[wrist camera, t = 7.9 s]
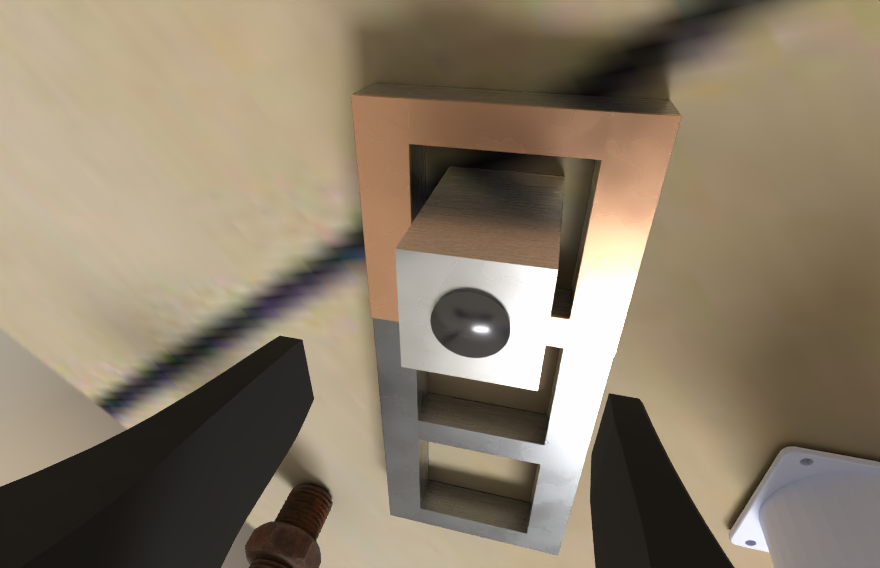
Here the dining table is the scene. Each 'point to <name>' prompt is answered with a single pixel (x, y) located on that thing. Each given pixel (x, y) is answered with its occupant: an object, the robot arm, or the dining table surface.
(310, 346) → the dining table surface
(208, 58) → the dining table surface
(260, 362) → the robot arm
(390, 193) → the frame with rectangular openings
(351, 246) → the dining table surface
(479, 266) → the grey rectangular block
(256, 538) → the bolt
